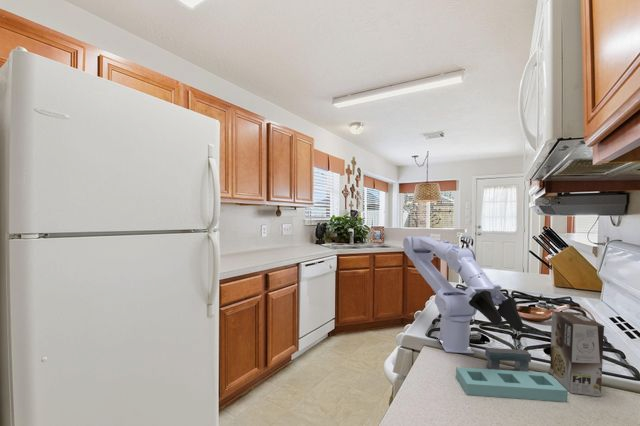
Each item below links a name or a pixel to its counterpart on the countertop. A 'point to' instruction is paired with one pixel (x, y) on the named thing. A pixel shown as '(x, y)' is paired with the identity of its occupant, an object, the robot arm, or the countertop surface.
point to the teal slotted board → (510, 384)
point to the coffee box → (577, 352)
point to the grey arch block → (508, 358)
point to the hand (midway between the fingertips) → (509, 325)
